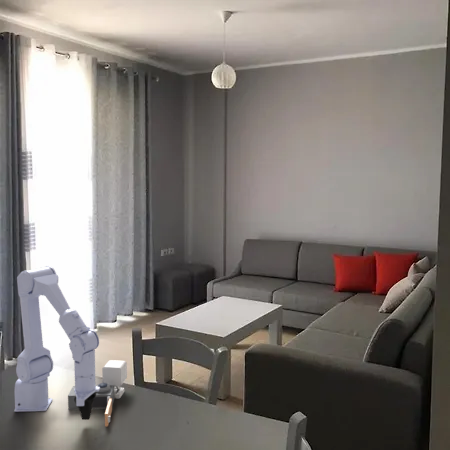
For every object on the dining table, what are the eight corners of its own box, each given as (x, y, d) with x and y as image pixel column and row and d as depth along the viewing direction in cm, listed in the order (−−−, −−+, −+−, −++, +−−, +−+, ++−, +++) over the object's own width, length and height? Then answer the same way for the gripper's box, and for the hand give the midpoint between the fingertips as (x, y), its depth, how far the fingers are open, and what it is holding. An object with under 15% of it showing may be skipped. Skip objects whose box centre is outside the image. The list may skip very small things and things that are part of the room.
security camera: (127, 389, 175) (126, 360, 174) (121, 398, 168) (120, 368, 167) (108, 388, 175) (108, 359, 174) (101, 397, 169) (101, 367, 167)
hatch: (107, 408, 160) (107, 396, 160) (114, 408, 161) (114, 396, 160) (102, 426, 150) (102, 413, 149) (110, 426, 150) (109, 412, 149)
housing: (68, 409, 160) (67, 390, 159) (73, 399, 167) (73, 380, 166) (111, 409, 161) (110, 389, 160) (114, 398, 168) (114, 379, 167)
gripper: (94, 383, 142) (95, 431, 143) (103, 363, 156) (104, 406, 158) (68, 384, 141) (69, 431, 143) (79, 363, 156) (80, 407, 157)
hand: (86, 418), depth 150 cm, fingers closed
